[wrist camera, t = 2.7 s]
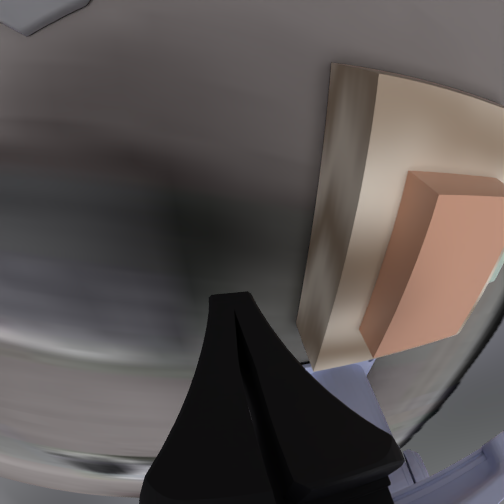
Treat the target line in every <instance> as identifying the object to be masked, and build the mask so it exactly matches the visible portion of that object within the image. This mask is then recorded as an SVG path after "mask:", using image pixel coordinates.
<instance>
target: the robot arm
mask: <svg viewBox="0 0 504 504" xmlns="http://www.w3.org/2000/svg"><path fill="white" fill-rule="evenodd" d="M375 359H376V358H375ZM375 359H371V360H367V361H362V362H358V363H354V364H349V365H345V366H340V367H335V368H331V369H326V370H321V371H315V372H313V370H312V367H311V364H310V363H309V364H304V365H301V364H300V363H299V362H298V360H297V359H296V358H295V357H294V356H293V355H292V353H291V352H290V351H289V350H288V349H287V348H286V346H285V345H284V344H283V342H282V341H281V340H280V339H279V337H278V336H277V334H276V333H275V332H274V330H273V329H272V328H271V326H270V325H269V323H268V322H267V320H266V319H265V317H264V316H263V314H262V313H261V311H260V309H259V308H258V306H257V304H256V302H255V301H254V299H253V297H252V295H251V293H249V292H248V291H247V292H237V293H227V294H216V295H211V296H210V297H209V314H208V321H207V328H206V333H205V337H204V342H203V346H202V350H201V354H200V357H199V361H198V364H197V368H196V371H195V374H194V377H193V380H192V383H191V386H190V388H189V391H188V394H187V396H186V399H185V401H184V403H183V406H182V408H181V410H180V413H179V415H178V417H177V419H176V421H175V424H174V426H173V428H172V429H171V431H170V433H169V435H168V437H167V439H166V441H165V443H164V445H163V447H162V449H161V450H160V452H159V454H158V456H157V457H156V459H155V460H154V462H153V464H152V465H151V467H150V469H149V470H148V472H147V474H146V475H145V478H144V482H143V485H142V489H141V493H140V500H139V501H140V502H139V504H499V503H500V502H501V501H502V500H503V499H504V431H502V432H501V433H499V434H498V435H496V437H494V438H492V439H491V440H490V441H488V442H487V443H485V444H484V445H483V446H482V447H481V448H479V449H478V450H476V451H474V452H473V453H471V454H469V455H468V456H466V457H464V458H463V459H461V460H459V461H458V462H456V463H454V464H452V465H450V466H449V467H447V468H445V469H443V470H441V471H439V472H437V473H435V474H433V475H432V476H429V474H428V472H427V469H426V467H425V465H424V463H423V461H422V459H421V457H420V455H419V454H418V452H415V451H411V450H410V449H407V450H405V451H403V454H404V457H405V460H406V463H405V460H404V457H403V455H402V452H401V450H400V448H399V446H398V445H397V443H396V442H395V440H394V438H393V436H392V433H391V431H390V429H389V426H388V424H387V422H386V419H385V417H384V415H383V412H382V410H381V408H380V406H379V403H378V401H377V399H376V396H375V394H374V392H373V390H372V387H371V385H370V383H369V381H368V379H367V374H368V372H369V370H370V368H371V367H372V365H373V363H374V361H375ZM249 410H250V411H249ZM250 414H251V415H250ZM251 418H252V419H251ZM406 464H407V465H406ZM408 469H409V470H408Z"/></svg>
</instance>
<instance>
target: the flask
mask: <svg viewBox="0 0 504 504" xmlns="http://www.w3.org/2000/svg"><path fill="white" fill-rule="evenodd" d="M89 1H90V0H0V23H2V24H4V25H6V26H8V27H10V28H12V29H13V30H15V31H17V32H19V33H21V34H23V35H25V36H26V37H27V36H29V35H31V34H32V33H34V32H36V31H38V30H39V29H41V28H43V27H45V26H46V25H48V24H50V23H52V22H54V21H56V20H58V19H59V18H61V17H63V16H65V15H67V14H69V13H71V12H73V11H76V10H78V9H80V8H82V7H84V6H86V5H87V4H88V3H89Z"/></svg>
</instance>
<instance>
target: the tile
mask: <svg viewBox="0 0 504 504" xmlns="http://www.w3.org/2000/svg"><path fill="white" fill-rule="evenodd" d="M503 247H504V183H503V182H501V181H500V180H498V179H497V178H492V177H483V176H474V175H463V174H452V173H439V172H425V171H408V174H407V178H406V182H405V186H404V190H403V194H402V198H401V202H400V206H399V209H398V213H397V217H396V220H395V224H394V227H393V231H392V234H391V237H390V241H389V244H388V247H387V251H386V254H385V257H384V260H383V263H382V266H381V269H380V272H379V275H378V278H377V281H376V284H375V287H374V290H373V293H372V295H371V298H370V301H369V304H368V306H367V309H366V312H365V314H364V317H363V320H362V322H361V325H360V327H359V331H360V333H361V335H362V337H363V339H364V341H365V343H366V345H367V347H368V349H369V351H370V353H371V355H372V357H373V358H376V357H380V356H384V355H388V354H392V353H395V352H399V351H403V350H406V349H410V348H413V347H417V346H420V345H424V344H427V343H430V342H433V341H437V340H440V339H443V338H446V337H449V336H452V335H455V334H456V333H457V332H458V330H459V329H460V327H461V326H462V324H463V322H464V321H465V319H466V317H467V316H468V314H469V312H470V311H471V309H472V307H473V305H474V304H475V302H476V300H477V298H478V297H479V295H480V293H481V291H482V289H483V288H484V286H485V284H486V282H487V280H488V278H489V276H490V274H491V272H492V270H493V268H494V266H495V264H496V262H497V260H498V258H499V256H500V254H501V251H502V249H503Z"/></svg>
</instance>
